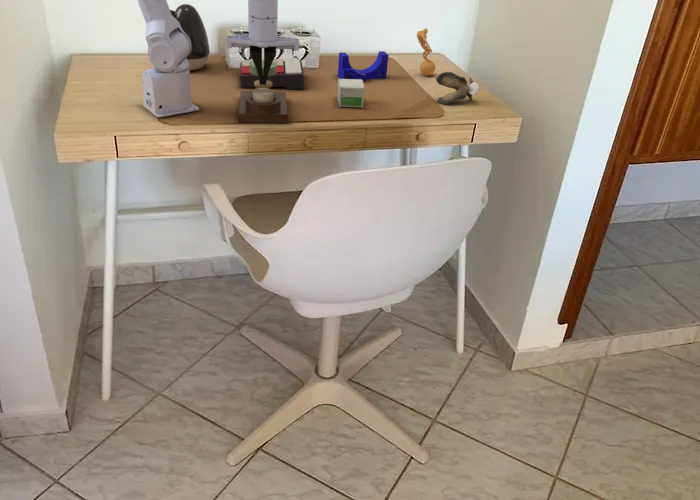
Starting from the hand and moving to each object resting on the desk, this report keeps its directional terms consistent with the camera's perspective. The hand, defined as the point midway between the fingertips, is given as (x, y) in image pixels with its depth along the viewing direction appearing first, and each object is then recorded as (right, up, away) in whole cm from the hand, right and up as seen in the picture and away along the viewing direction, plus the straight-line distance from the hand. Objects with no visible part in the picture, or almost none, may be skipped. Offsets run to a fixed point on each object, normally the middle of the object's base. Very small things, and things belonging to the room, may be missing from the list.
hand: (262, 83), depth 140 cm
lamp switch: (0, -3, +2) cm, 4 cm away
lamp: (-1, +2, +9) cm, 9 cm away
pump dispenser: (-22, +11, +29) cm, 38 cm away
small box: (+18, -1, +14) cm, 23 cm away
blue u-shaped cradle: (+21, +9, +31) cm, 38 cm away
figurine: (+37, +11, +36) cm, 53 cm away
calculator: (-1, +6, +24) cm, 25 cm away
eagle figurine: (+43, +1, +21) cm, 48 cm away
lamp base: (-1, -4, +7) cm, 8 cm away
